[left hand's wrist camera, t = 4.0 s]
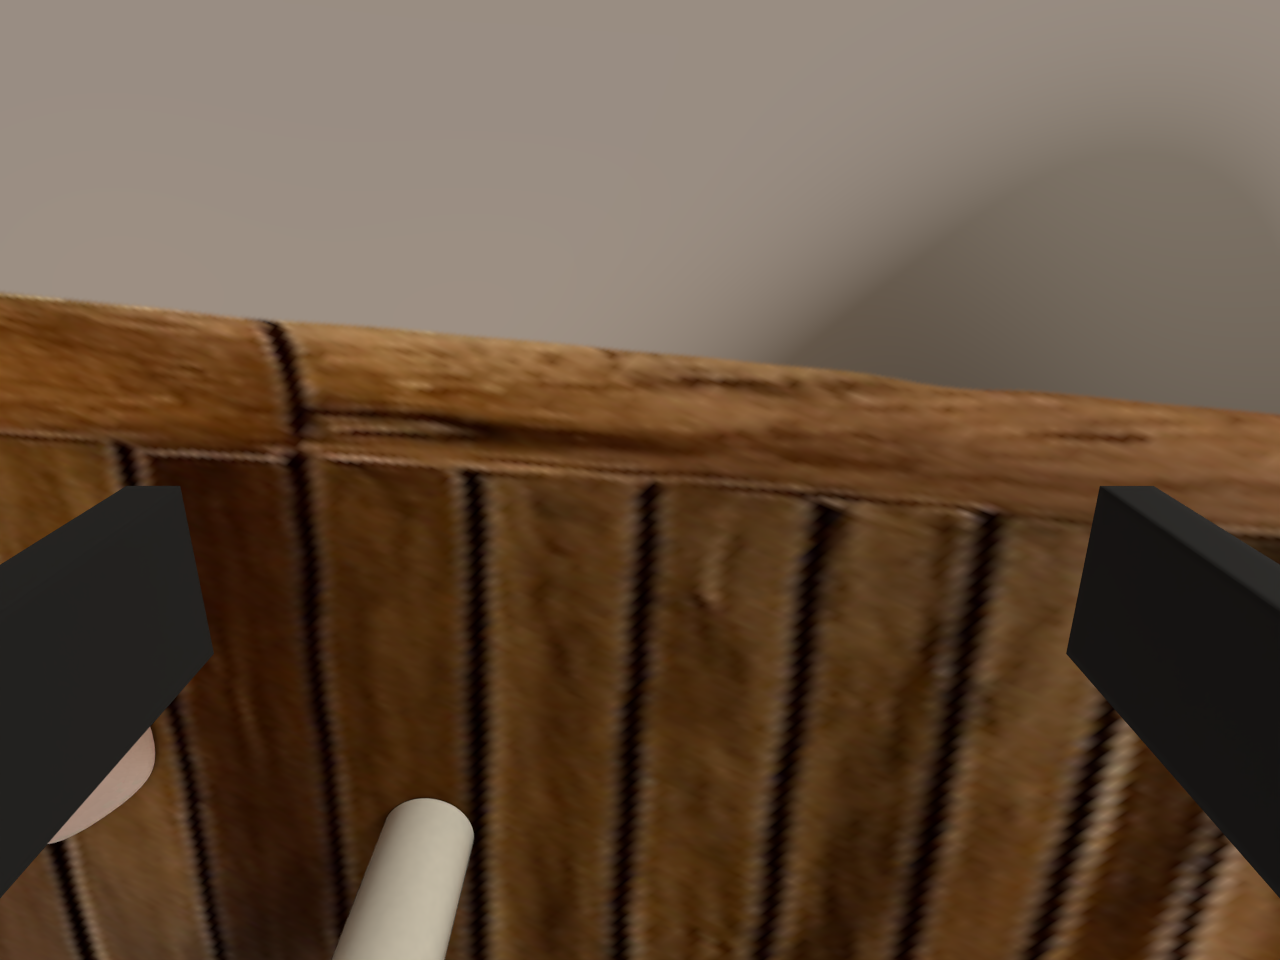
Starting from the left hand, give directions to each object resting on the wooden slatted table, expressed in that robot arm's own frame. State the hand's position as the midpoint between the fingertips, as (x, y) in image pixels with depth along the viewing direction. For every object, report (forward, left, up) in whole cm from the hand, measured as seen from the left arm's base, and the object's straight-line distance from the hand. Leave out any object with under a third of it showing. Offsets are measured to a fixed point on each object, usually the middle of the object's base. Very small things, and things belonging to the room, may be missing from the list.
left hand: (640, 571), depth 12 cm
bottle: (-31, +12, -28) cm, 43 cm away
